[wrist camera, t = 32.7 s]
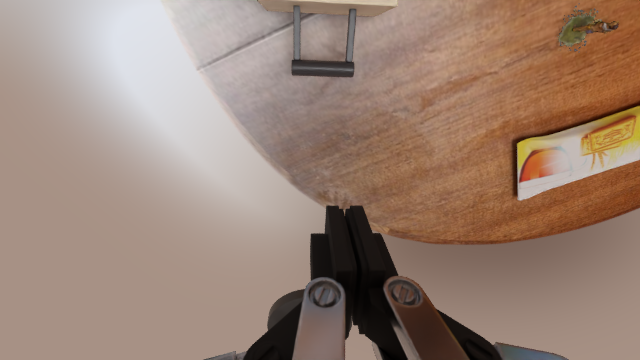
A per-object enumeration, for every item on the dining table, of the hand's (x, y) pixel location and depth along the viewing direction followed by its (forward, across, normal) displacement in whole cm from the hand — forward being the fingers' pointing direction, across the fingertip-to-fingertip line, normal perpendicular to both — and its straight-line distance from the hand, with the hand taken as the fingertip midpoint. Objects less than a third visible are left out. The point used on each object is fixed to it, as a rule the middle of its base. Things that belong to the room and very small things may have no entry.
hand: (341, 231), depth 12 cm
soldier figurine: (+23, -30, -11) cm, 39 cm away
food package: (+23, -41, +2) cm, 48 cm away
